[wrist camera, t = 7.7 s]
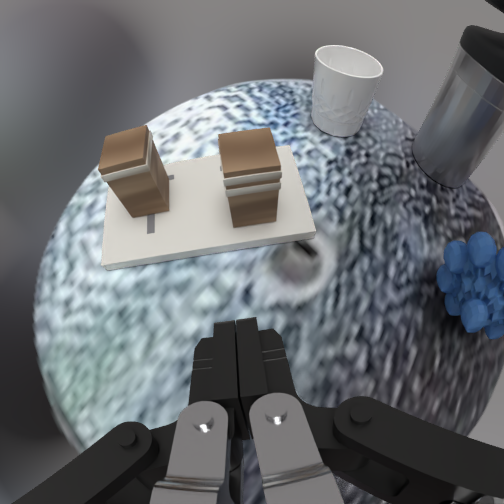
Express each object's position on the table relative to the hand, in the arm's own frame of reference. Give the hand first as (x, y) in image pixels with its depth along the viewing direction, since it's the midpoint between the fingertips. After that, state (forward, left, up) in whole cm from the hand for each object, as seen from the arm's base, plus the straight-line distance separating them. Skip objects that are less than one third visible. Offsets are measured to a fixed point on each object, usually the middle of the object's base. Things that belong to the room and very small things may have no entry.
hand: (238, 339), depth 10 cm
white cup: (-24, -20, -15) cm, 34 cm away
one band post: (+2, -18, -13) cm, 23 cm away
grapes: (-19, +7, -15) cm, 25 cm away
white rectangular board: (-3, -16, -15) cm, 21 cm away
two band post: (-7, -12, -13) cm, 19 cm away
